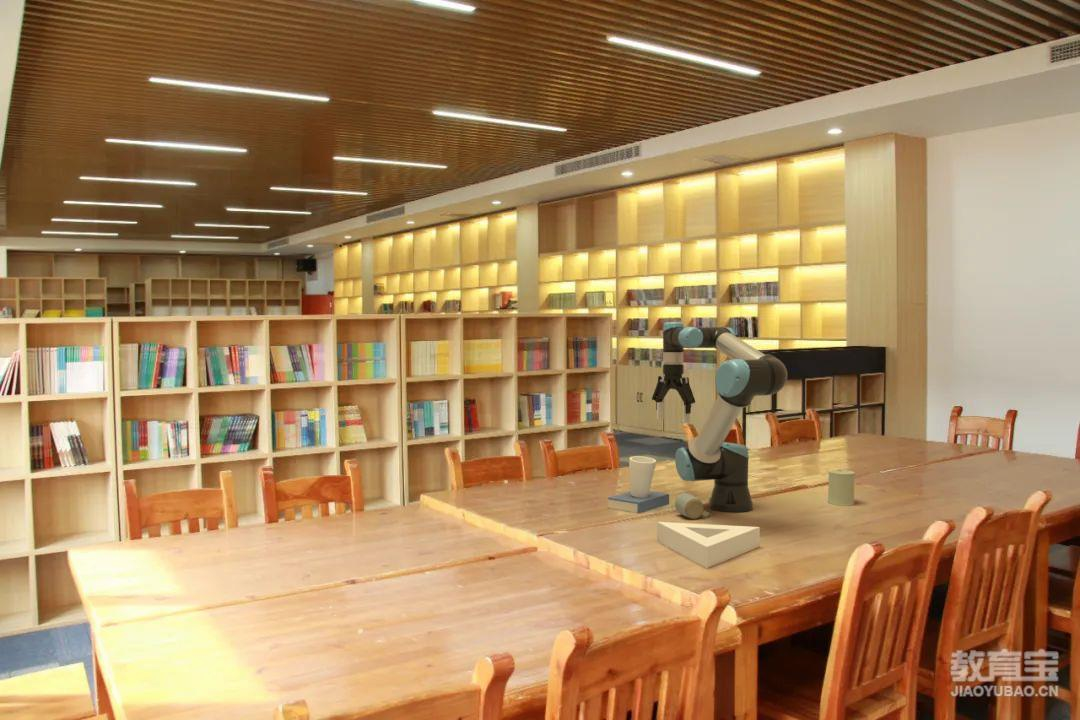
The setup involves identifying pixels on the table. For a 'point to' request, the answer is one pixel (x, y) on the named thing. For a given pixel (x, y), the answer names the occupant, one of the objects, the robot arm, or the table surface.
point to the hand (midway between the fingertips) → (673, 421)
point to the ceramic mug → (690, 506)
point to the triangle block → (708, 541)
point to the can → (841, 487)
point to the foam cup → (641, 475)
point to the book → (638, 502)
